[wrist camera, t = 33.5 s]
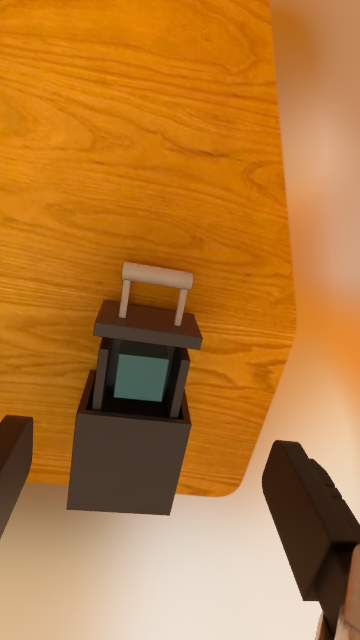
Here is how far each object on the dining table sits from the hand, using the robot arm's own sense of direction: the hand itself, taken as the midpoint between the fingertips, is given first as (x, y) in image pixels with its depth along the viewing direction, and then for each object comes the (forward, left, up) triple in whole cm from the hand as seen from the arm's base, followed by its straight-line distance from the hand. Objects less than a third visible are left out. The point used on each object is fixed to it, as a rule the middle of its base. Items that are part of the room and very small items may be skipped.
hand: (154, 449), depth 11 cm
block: (+4, +7, -22) cm, 24 cm away
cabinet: (+9, +14, -24) cm, 30 cm away
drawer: (+3, +5, -23) cm, 24 cm away
